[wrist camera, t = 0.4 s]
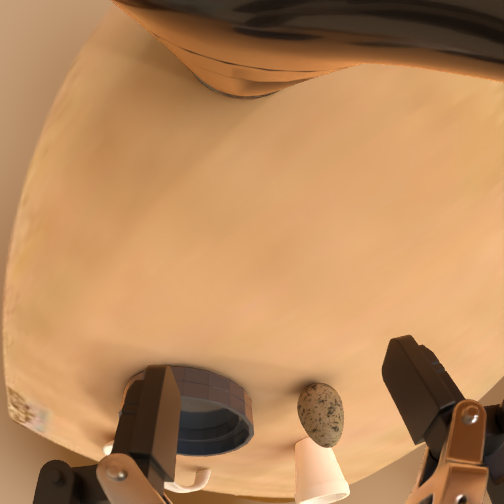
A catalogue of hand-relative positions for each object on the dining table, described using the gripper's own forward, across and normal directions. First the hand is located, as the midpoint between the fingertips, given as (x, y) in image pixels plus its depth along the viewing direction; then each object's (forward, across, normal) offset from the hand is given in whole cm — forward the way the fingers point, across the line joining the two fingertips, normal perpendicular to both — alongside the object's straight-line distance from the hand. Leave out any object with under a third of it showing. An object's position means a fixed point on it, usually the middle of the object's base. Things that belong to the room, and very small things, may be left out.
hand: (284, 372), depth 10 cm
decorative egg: (+19, -7, +25) cm, 33 cm away
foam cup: (+20, -9, +45) cm, 50 cm away
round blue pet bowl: (+19, +11, +27) cm, 35 cm away
